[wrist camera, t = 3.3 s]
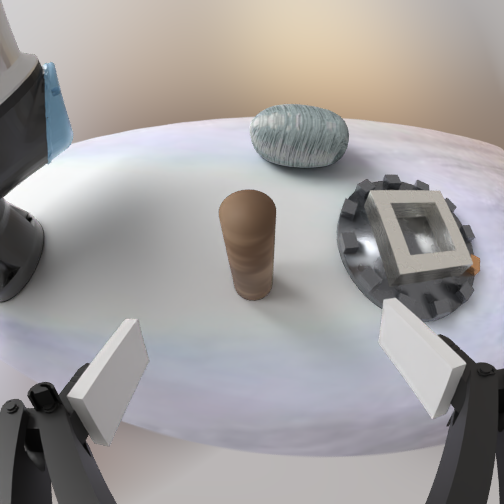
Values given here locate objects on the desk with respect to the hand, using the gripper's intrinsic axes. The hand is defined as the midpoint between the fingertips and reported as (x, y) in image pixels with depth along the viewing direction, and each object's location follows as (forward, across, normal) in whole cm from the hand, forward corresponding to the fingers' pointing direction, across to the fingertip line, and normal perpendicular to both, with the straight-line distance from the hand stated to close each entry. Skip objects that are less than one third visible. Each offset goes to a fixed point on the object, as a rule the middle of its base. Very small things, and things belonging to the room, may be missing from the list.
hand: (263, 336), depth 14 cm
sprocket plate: (+18, +20, -1) cm, 27 cm away
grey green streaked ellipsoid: (+30, +7, +11) cm, 32 cm away
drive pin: (+16, 0, -3) cm, 16 cm away
